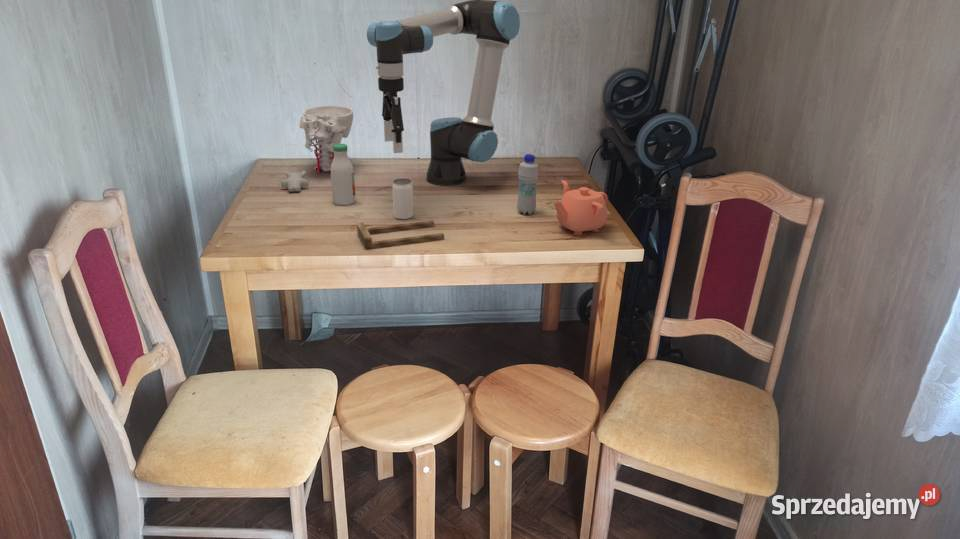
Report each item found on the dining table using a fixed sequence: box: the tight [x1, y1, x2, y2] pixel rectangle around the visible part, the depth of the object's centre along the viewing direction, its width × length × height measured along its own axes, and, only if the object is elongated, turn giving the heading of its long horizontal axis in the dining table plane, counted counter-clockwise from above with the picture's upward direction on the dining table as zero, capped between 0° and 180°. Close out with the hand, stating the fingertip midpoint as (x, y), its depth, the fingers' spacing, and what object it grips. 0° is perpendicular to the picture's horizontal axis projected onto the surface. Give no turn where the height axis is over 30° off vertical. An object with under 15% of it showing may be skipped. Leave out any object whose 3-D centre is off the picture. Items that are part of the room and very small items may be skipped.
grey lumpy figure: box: [280, 169, 310, 193], centre depth 233 cm, size 10×5×15 cm
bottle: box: [516, 153, 540, 216], centre depth 211 cm, size 7×7×20 cm
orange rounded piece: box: [553, 179, 608, 237], centre depth 202 cm, size 16×17×14 cm
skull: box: [299, 105, 354, 174], centre depth 245 cm, size 25×19×23 cm
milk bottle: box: [330, 143, 356, 206], centre depth 217 cm, size 8×8×20 cm
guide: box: [356, 220, 445, 250], centre depth 194 cm, size 24×12×4 cm, turn 111°
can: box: [391, 178, 414, 220], centre depth 208 cm, size 6×6×12 cm
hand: (393, 146), depth 201 cm, fingers open, 13 cm apart
